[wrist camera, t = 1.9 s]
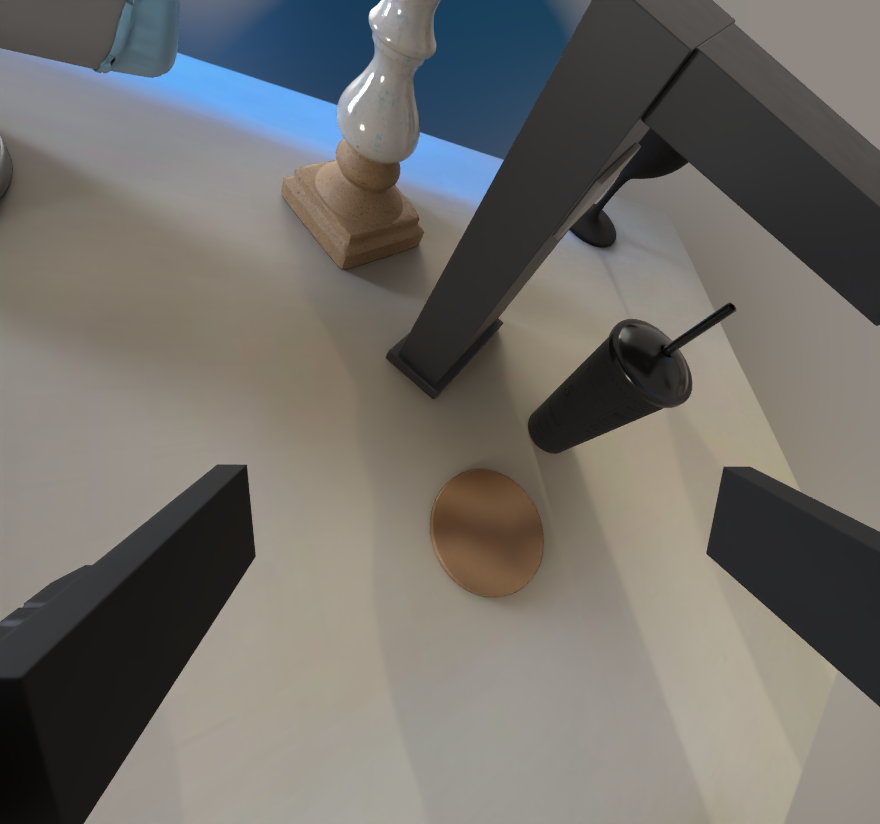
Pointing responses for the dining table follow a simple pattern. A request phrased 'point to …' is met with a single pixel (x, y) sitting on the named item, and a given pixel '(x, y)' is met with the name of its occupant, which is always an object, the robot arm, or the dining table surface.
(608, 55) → the coffee maker
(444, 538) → the coaster
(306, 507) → the dining table surface
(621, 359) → the drinking cup
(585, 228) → the wine glass
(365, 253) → the candle holder
